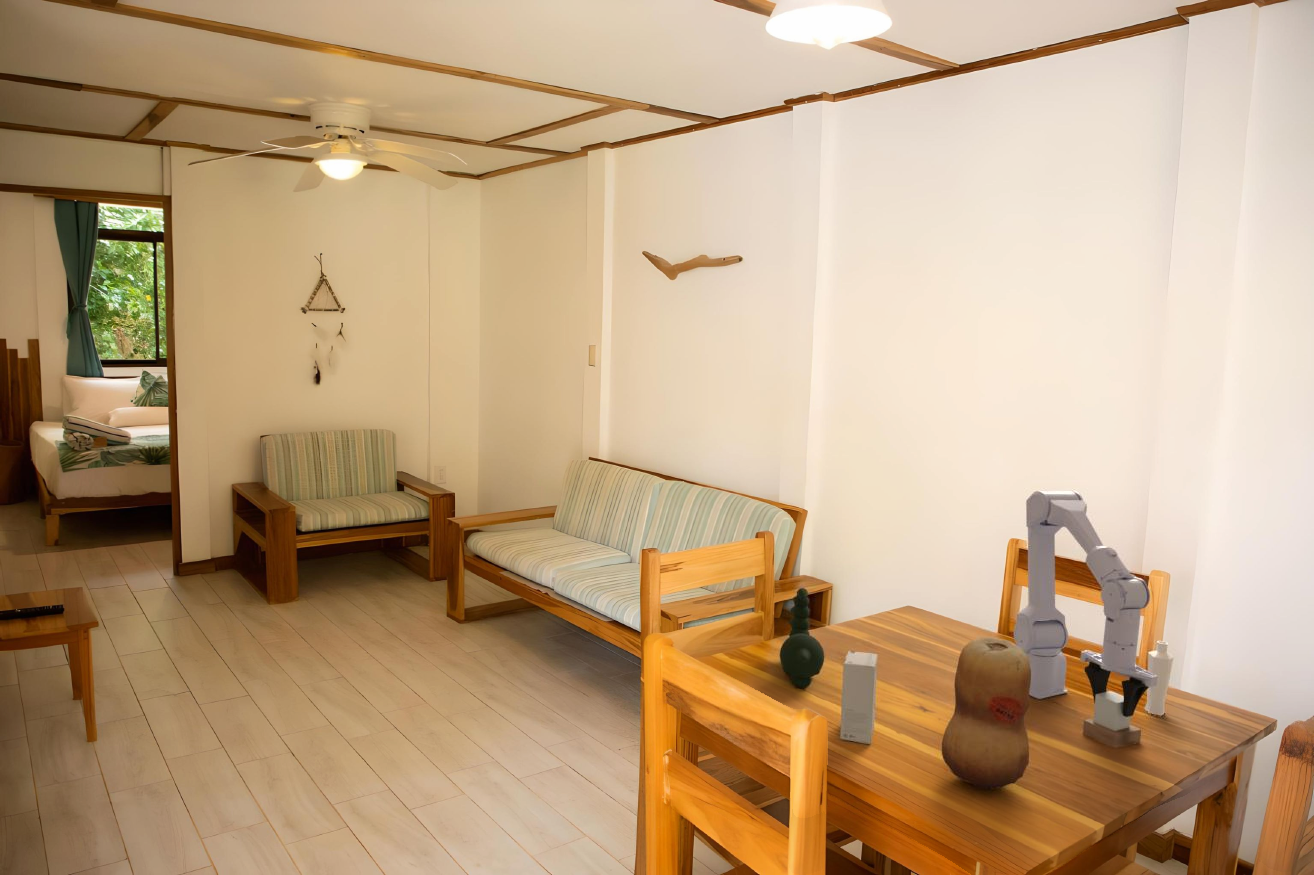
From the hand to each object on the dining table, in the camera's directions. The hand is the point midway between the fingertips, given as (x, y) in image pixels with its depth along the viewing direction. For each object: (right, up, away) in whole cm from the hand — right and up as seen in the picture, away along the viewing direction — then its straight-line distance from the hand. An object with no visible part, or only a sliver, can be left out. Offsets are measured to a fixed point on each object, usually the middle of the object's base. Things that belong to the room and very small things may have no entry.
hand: (1113, 709), depth 170 cm
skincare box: (-50, -4, -2) cm, 50 cm away
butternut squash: (-32, -7, -20) cm, 39 cm away
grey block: (0, -3, 0) cm, 3 cm away
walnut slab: (0, -6, +1) cm, 6 cm away
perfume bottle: (+16, -5, +14) cm, 21 cm away
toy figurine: (-56, -1, +26) cm, 62 cm away
